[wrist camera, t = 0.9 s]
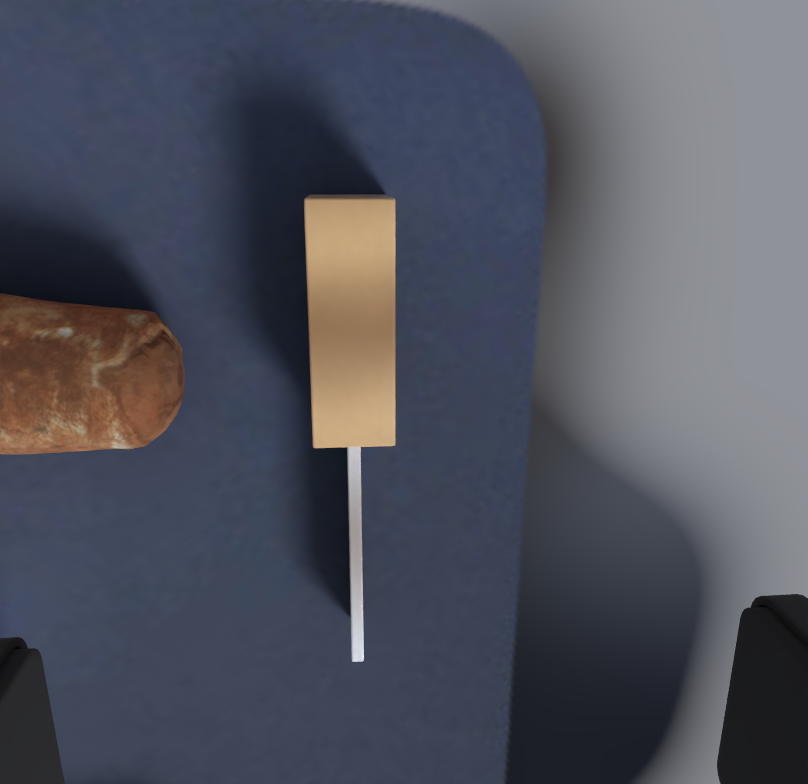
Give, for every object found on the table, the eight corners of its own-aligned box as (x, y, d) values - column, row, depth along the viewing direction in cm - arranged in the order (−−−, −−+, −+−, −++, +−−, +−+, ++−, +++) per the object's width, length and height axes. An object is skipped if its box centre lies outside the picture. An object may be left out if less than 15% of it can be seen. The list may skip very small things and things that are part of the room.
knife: (389, 617, 26) (395, 676, 23) (323, 620, 26) (321, 680, 23) (387, 194, 22) (395, 198, 19) (308, 194, 22) (303, 198, 19)
